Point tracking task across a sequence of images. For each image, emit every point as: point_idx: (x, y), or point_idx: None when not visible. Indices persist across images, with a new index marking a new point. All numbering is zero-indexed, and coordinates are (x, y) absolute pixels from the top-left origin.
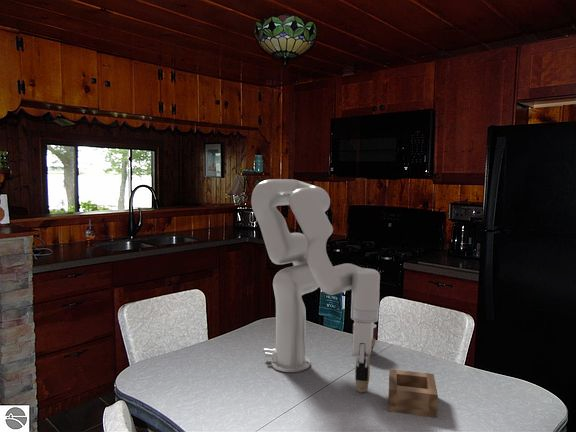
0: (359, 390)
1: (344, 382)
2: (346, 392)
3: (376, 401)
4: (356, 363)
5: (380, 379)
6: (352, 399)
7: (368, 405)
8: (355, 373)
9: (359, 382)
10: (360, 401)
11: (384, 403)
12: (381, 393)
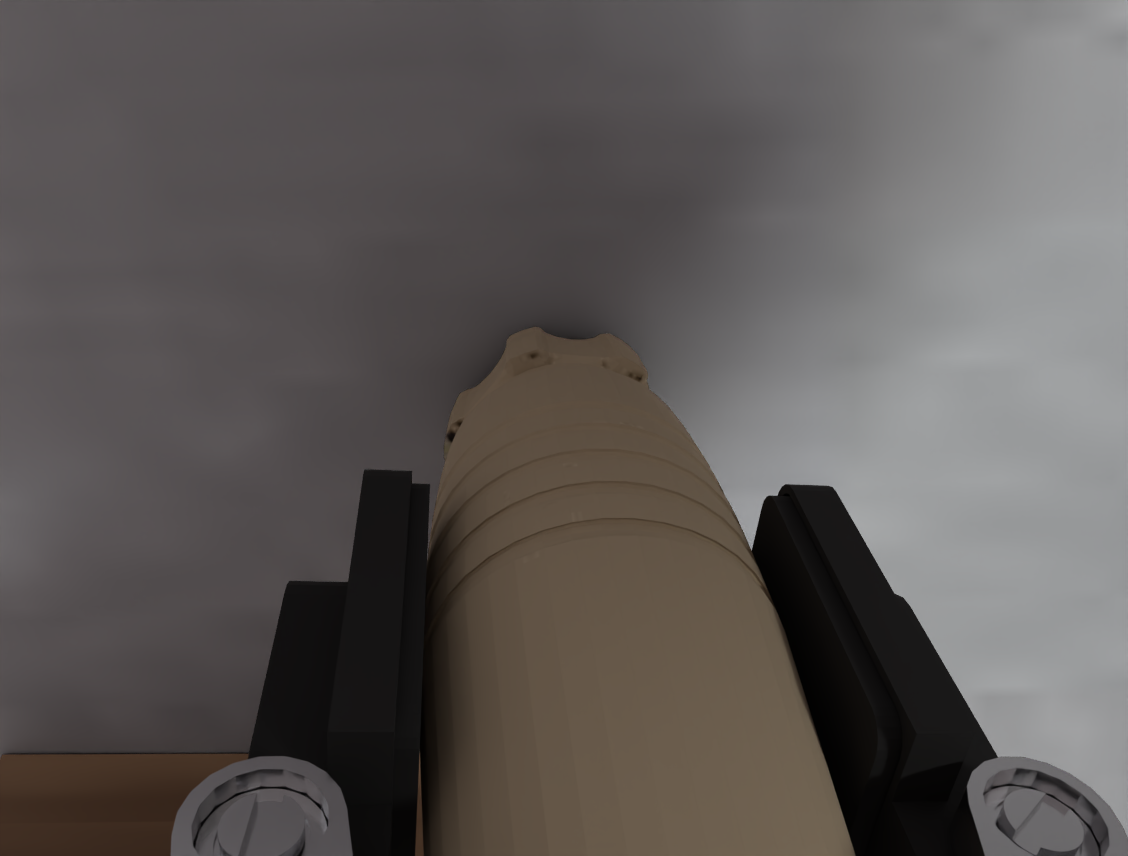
0: (474, 391)
1: (874, 71)
2: (437, 129)
3: (245, 618)
4: (577, 713)
5: (977, 653)
6: (179, 256)
7: (64, 516)
8: (554, 485)
9: (440, 483)
10: (154, 395)
11: (221, 711)
12: None
